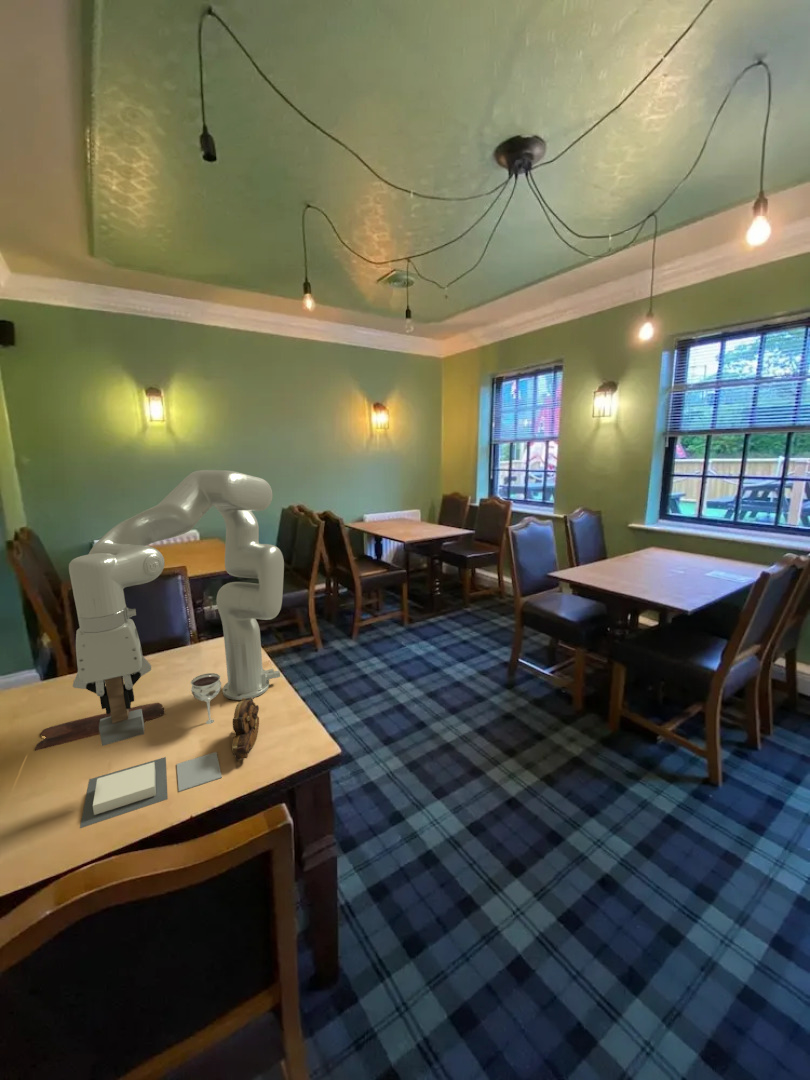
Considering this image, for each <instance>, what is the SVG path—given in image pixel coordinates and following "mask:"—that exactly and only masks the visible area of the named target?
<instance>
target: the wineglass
mask: <svg viewBox="0 0 810 1080" xmlns="http://www.w3.org/2000/svg"><path fill="white" fill-rule="evenodd" d="M220 680H221V675H220V674H218V673H214V672H211V673H207V672H206V673H203V674H200V675H198V676H197V675H196V677H194V678H193V679H192V680H191V681H190V685H191V694H192V696H193V698H195V699H196V700H198V701H201V702H206V703H205V704H206V709H207V716H208V719H207V720H206V721H205V724H207V725H212V724H213V723H215V719H213V718H212V719H211V703H210V702H211V701H212V700H213V699H214V698H216V697H217V696H218V695H219V693H220V692H221V688H222V682H221V681H220Z"/></svg>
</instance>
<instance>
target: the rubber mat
mask: <svg viewBox="0 0 810 1080" xmlns="http://www.w3.org/2000/svg"><path fill="white" fill-rule="evenodd" d="M152 762H154V763H155V773H156V795H155V796H152V797H149V798H146V799H143V800H140V801H136V802H133V803H130V804H127V805H124V806H121V807H118V808H115V809H112V810H109V811H106V812H103V813H99V814H96V815H94V811H93V801H94V795H95V789H96V783H97V779H98V778H101V777H105V776H108V775H112V774H115V773H118V772H122V771H125V770H129V769H132V768H135V767H139V766H142V765H146V764H149V763H152ZM168 799H169V797H168V776H167V757H166V756H163V757H161V758H157V759H154V760H150V761H147V762H144V763H141V764H137V765H133V766H130V767H127V768H123V769H119V770H116V771H113V772H109V773H105V774H102V775H99V776H95V777H93V778H89V780H88V783H87V789H86V795H85V800H84V804H83V809H82V814H81V816H82V817H81V821H80V826H79V829H82V828H86V827H88V826H91V825H94V824H97V823H100V822H103V821H106V820H108V819H113V818H115V817H118V816H121V815H124V814H127V813H130V812H133V811H134V812H135V811H137V810H139V809H143V808H145V807H148V806H151V805H154V804H157V803H160V802H163V801H167V800H168Z"/></svg>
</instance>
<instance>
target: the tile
mask: <svg viewBox="0 0 810 1080" xmlns="http://www.w3.org/2000/svg"><path fill="white" fill-rule="evenodd" d="M155 795H156V773H155V763H154V762H152V763H149V764H146V765H142V766H139V767H135V768H132V769H129V770H125V771H122V772H118V773H115V774H112V775H108V776H105V777H101V778H98V779H97V783H96V789H95V795H94V801H93V811H94V815H96V814H99V813H103V812H106V811H109V810H112V809H115V808H118V807H121V806H124V805H127V804H130V803H133V802H136V801H140V800H143V799H146V798H149V797H152V796H155Z"/></svg>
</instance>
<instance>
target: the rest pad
mask: <svg viewBox="0 0 810 1080" xmlns="http://www.w3.org/2000/svg"><path fill="white" fill-rule="evenodd" d="M176 772H177V773H176V774H177V787H178V788H177V789H178V793H180V792H183V791H187V790H189V789H193V788H195V787H198V786H201V785H205V784H208V783H210V782H211V783H212V782H213V781H217V780H219V779H222V778H223V775H222V772H221V766H220V763H219V757H218V753H217V751H215V752H211V753H208V754H205V755H202V756H198V757H195V758H192V759H188V760H185V761H182V762H178V763H176Z"/></svg>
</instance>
